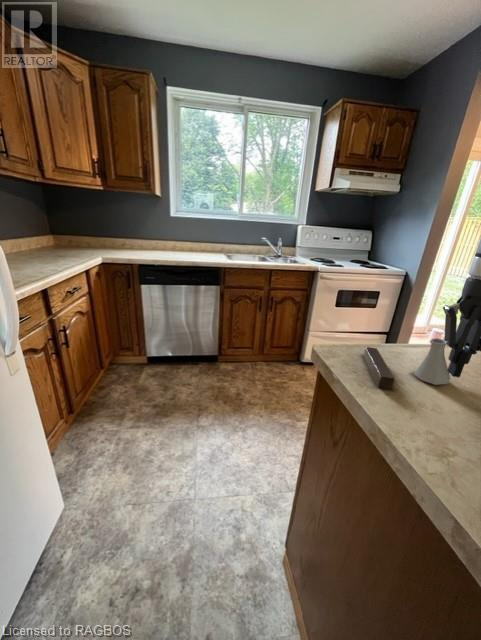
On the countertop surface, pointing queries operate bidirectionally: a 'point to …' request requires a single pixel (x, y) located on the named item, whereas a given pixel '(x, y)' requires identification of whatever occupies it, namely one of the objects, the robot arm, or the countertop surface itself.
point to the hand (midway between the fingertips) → (453, 373)
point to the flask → (434, 364)
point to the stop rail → (378, 368)
